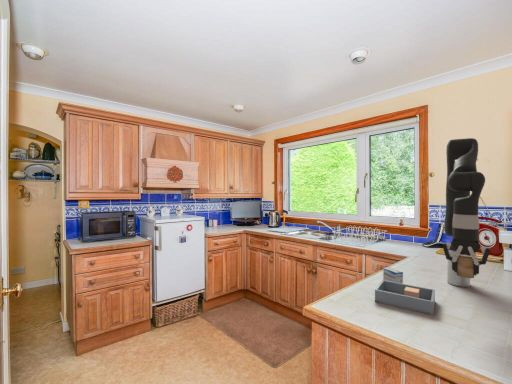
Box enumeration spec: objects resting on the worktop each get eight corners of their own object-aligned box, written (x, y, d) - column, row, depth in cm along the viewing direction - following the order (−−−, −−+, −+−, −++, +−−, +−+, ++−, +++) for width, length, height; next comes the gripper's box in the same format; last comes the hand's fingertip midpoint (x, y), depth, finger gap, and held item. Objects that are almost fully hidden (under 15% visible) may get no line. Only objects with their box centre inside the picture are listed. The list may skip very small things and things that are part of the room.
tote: (382, 290, 124) (382, 279, 124) (434, 301, 112) (435, 289, 112) (374, 301, 112) (374, 289, 112) (433, 315, 100) (433, 302, 100)
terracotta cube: (405, 298, 114) (405, 286, 114) (419, 301, 111) (419, 289, 111) (404, 302, 110) (404, 290, 110) (418, 305, 107) (418, 292, 107)
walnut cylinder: (457, 272, 99) (457, 254, 99) (474, 275, 96) (474, 256, 96) (456, 276, 95) (456, 256, 95) (474, 279, 92) (474, 259, 92)
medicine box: (382, 285, 131) (382, 268, 131) (389, 284, 133) (389, 267, 133) (396, 291, 124) (396, 272, 124) (403, 289, 125) (403, 271, 125)
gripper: (491, 227, 94) (490, 275, 94) (442, 224, 103) (442, 267, 103) (492, 229, 88) (492, 280, 88) (440, 226, 97) (440, 272, 97)
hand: (465, 273), depth 96 cm, fingers closed on walnut cylinder, 5 cm apart
